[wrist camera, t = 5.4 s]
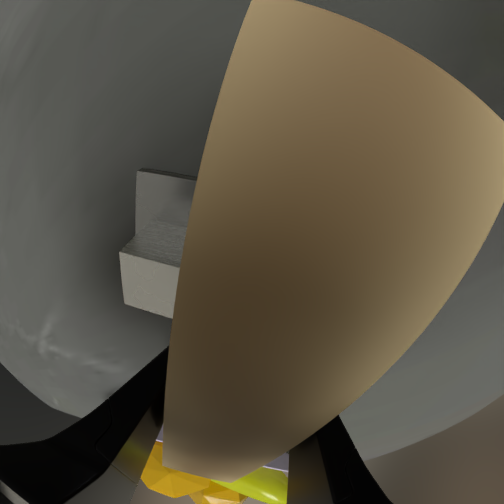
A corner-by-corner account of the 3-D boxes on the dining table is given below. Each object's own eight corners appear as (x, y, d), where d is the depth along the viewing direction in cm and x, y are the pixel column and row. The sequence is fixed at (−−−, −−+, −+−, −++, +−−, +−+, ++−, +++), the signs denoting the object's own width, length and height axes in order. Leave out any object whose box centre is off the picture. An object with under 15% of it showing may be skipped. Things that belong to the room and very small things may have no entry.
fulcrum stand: (403, 230, 13) (435, 272, 9) (348, 336, 17) (356, 384, 13) (142, 168, 13) (97, 192, 9) (142, 288, 17) (114, 330, 13)
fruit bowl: (122, 431, 35) (103, 481, 26) (101, 351, 22) (51, 445, 12) (272, 472, 37) (266, 523, 27) (362, 421, 24) (368, 511, 14)
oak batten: (417, 117, 5) (524, 144, 2) (240, 428, 15) (230, 482, 11) (273, 56, 5) (254, -9, 2) (179, 412, 14) (162, 465, 11)
